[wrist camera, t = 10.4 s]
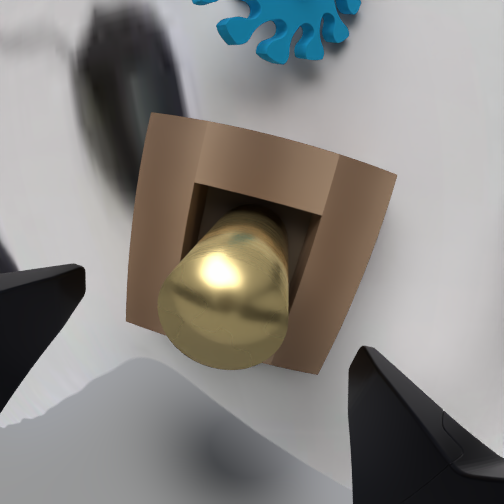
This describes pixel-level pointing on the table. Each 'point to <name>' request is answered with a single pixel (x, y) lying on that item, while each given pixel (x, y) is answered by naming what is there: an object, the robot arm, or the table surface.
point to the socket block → (266, 194)
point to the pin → (230, 291)
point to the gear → (289, 26)
